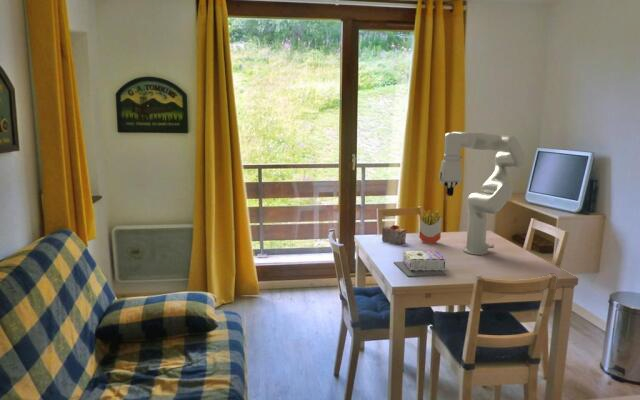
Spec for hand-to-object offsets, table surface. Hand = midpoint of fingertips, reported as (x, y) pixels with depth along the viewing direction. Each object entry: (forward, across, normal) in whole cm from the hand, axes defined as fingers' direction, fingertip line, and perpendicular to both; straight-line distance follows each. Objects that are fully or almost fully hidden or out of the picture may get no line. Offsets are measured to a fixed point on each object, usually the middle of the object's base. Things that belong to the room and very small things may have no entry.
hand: (449, 195), depth 237 cm
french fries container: (+32, -3, -29) cm, 44 cm away
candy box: (+29, +9, +14) cm, 33 cm away
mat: (+32, +20, +14) cm, 40 cm away
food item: (+32, +17, -33) cm, 49 cm away
